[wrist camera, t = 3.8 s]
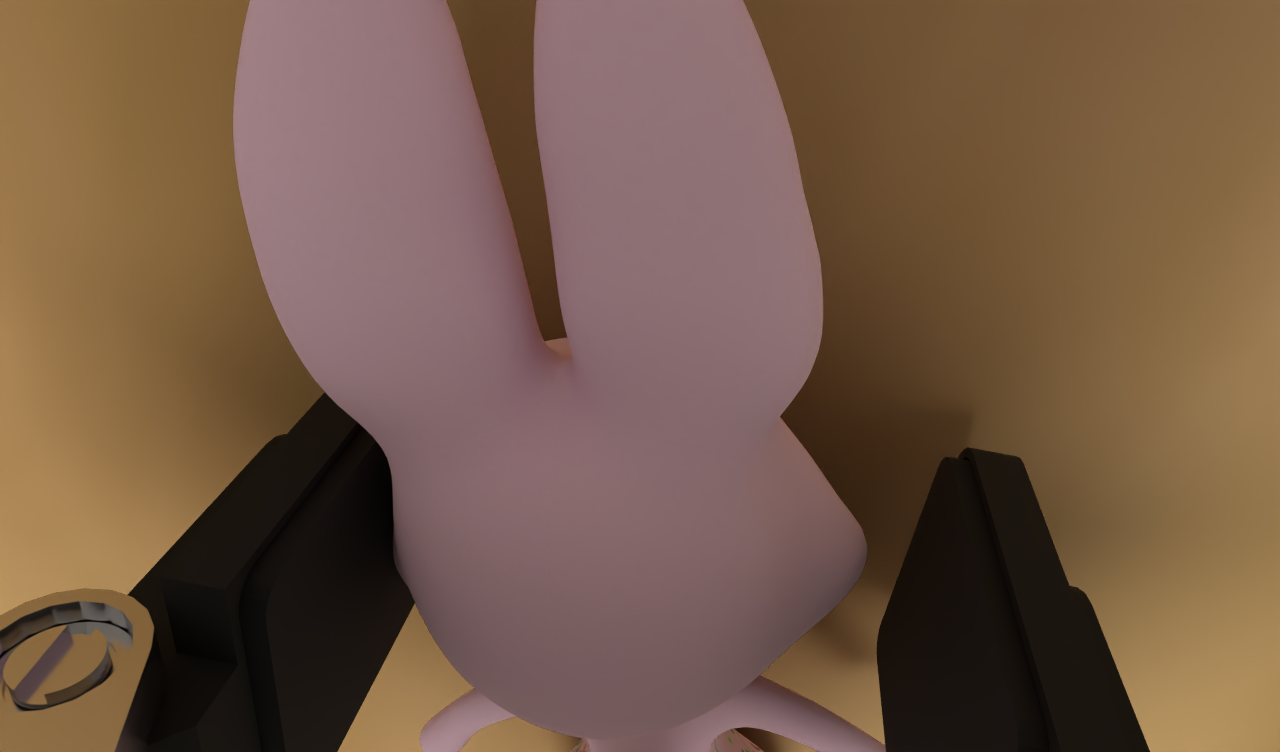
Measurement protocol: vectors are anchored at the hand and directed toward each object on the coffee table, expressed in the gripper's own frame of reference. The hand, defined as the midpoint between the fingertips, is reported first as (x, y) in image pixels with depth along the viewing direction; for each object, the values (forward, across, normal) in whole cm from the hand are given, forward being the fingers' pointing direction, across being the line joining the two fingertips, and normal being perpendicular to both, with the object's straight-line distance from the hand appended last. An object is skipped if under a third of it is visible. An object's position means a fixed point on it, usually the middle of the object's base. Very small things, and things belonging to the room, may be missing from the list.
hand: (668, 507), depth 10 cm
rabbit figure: (+1, 0, +1) cm, 1 cm away
